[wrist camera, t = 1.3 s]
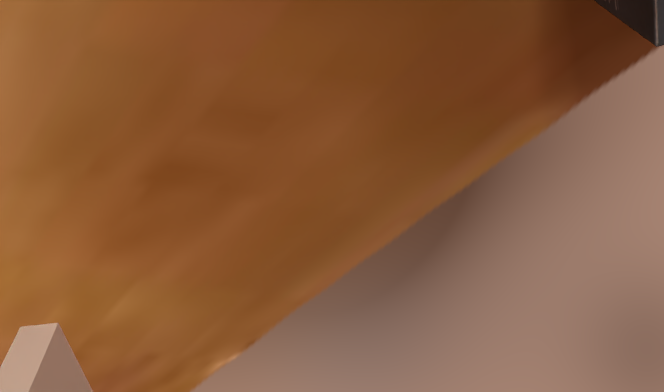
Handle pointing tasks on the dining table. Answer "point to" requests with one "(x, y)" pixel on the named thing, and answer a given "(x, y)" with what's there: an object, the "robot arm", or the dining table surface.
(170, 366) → the dining table surface
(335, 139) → the dining table surface
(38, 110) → the dining table surface
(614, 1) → the box
